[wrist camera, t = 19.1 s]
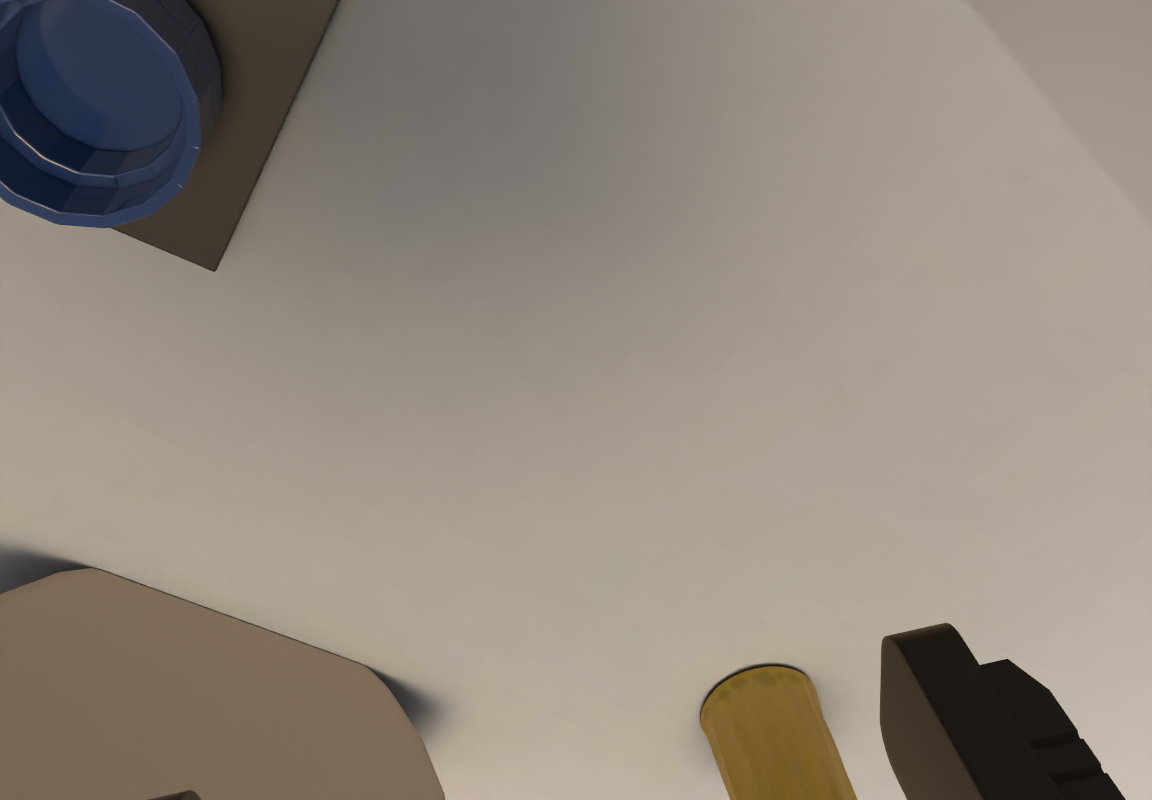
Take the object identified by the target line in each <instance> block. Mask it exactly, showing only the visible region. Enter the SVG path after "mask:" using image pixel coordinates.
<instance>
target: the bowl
mask: <svg viewBox="0 0 1152 800" xmlns="http://www.w3.org/2000/svg"><path fill="white" fill-rule="evenodd" d="M221 103H222V100H221V65H220V63H219V58H218V56H217V53H216V51H215V49H214V47H213V44H212V42H211V40H210V37H209V35H208V33H207V31H206V28H205V26H204V24H203V21H202V20H200V17H199V16H198V15H197V14H196V13H195V11H194V10H193V9H192V8H191V7H190V6H189V5H188V4H187V3H186V2H185V1H184V0H0V197H1V198H2V199H3V200H4V201H5V202H6V203H9V204H10V205H12V206H14V207H17V208H19V209H22V210H24V211H26V212H29V213H31V214H34V215H36V216H38V217H41V218H43V219H46V220H48V221H50V222H53V223H55V224H59V225H71V226H84V227H97V228H110V227H113V226H117V225H120V224H124V223H127V222H131V221H134V220H137V219H141V218H144V217H148V216H150V215H152V214H154V213H155V212H156V211H157V210H158V209H160V208H161V207H162V206H163V205H164V204H165V203H167V202H168V201H169V200H170V199H171V198H173V197H174V196H175V195H176V194H177V193H178V192H180V191H181V190H182V189H183V187H184V186H185V185H186V183H187V180H188V178H189V176H190V174H191V172H192V170H193V168H194V166H195V164H196V162H197V159H198V157H199V155H200V153H201V151H202V149H203V147H204V145H205V143H206V141H207V138H208V136H209V134H210V131H211V129H212V127H213V124H214V122H215V120H216V117H217V115H218V113H219V110H220V108H221Z"/></svg>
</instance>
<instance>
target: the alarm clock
mask: <svg viewBox="0 0 1152 800" xmlns="http://www.w3.org/2000/svg"><path fill="white" fill-rule="evenodd" d="M188 790H192V791H194V792H196V793H197V794H198V795H199V797H200V798H201V800H445V794H444V792H443V789H442V787H441V784H440V782H439V779H438V777H437V774H436V772H435V770H434V767H433V765H432V762H431V760H430V757H429V755H428V752H427V750H426V747H425V745H424V743H423V740H422V738H421V737H420V735H419V734H418V732H417V730H416V729H415V727H414V726H413V724H412V723H411V721H410V720H409V718H408V717H407V715H406V714H405V712H404V711H403V709H402V708H401V706H400V705H399V703H398V702H397V700H396V699H395V697H394V696H393V694H392V693H391V691H390V690H389V689H388V687H387V686H386V685H385V684H384V683H383V682H382V681H381V680H380V679H379V678H378V677H377V676H376V675H375V674H374V673H373V672H372V671H371V670H370V669H369V668H368V667H366V666H364V665H361V664H359V663H356V662H353V661H350V660H348V659H345V658H342V657H339V656H337V655H334V654H331V653H328V652H326V651H323V650H320V649H317V648H314V647H312V646H309V645H306V644H303V643H301V642H298V641H295V640H292V639H290V638H287V637H284V636H281V635H279V634H276V633H273V632H270V631H267V630H265V629H262V628H259V627H256V626H254V625H251V624H248V623H245V622H243V621H240V620H237V619H234V618H232V617H229V616H226V615H223V614H220V613H218V612H215V611H212V610H209V609H207V608H204V607H201V606H198V605H196V604H193V603H190V602H187V601H185V600H182V599H179V598H176V597H174V596H171V595H168V594H165V593H162V592H160V591H157V590H154V589H151V588H149V587H146V586H143V585H140V584H138V583H135V582H132V581H129V580H127V579H124V578H121V577H118V576H115V575H113V574H110V573H107V572H104V571H102V570H99V569H94V568H87V569H79V570H72V571H64V572H58V573H55V574H53V575H50V576H47V577H45V578H42V579H40V580H37V581H34V582H32V583H29V584H26V585H24V586H21V587H18V588H16V589H13V590H11V591H8V592H5V593H3V594H0V800H148V799H152V798H157V797H161V796H166V795H170V794H174V793H179V792H183V791H188Z"/></svg>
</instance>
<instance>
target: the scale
mask: <svg viewBox="0 0 1152 800" xmlns="http://www.w3.org/2000/svg"><path fill="white" fill-rule="evenodd" d="M184 1H185V2H186V3H187V4H188V5H189V6H190V7H191V8H192V9H193V10H194V11H195V13H196V14H197V15H198V16H199V17H200V20H202V21H203V24H204V26H205V28H206V31H207V33H208V35H209V37H210V40H211V42H212V44H213V47H214V49H215V51H216V53H217V56H218V58H219V63H220V65H221V100H222V103H221V108H220V110H219V113H218V115H217V117H216V120H215V122H214V124H213V127H212V129H211V131H210V134H209V136H208V138H207V141H206V143H205V145H204V147H203V149H202V151H201V153H200V155H199V157H198V159H197V162H196V164H195V166H194V168H193V170H192V172H191V174H190V176H189V178H188V180H187V183H186V185H185V186H184V187H183V189H182V190H181V191H180V192H178V193H177V194H176V195H175V196H174V197H173V198H171V199H170V200H169V201H168V202H167V203H165V204H164V205H163V206H162V207H161V208H160V209H158V210H157V211H156V212H155V213H154V214H152V215H150V216H148V217H144V218H141V219H137V220H134V221H131V222H127V223H124V224H120V225H117V226H113V227H110V228H112V229H114V230H117V231H119V232H121V233H124V234H126V235H128V236H131V237H133V238H135V239H138V240H140V241H143V242H145V243H147V244H150V245H152V246H154V247H157V248H159V249H161V250H164V251H166V252H169V253H171V254H173V255H176V256H178V257H180V258H183V259H185V260H187V261H190V262H192V263H195V264H197V265H199V266H202V267H204V268H206V269H209V270H211V271H214V272H215V271H216V270H217V268H218V266H219V263H220V261H221V259H222V257H223V255H224V252H225V250H226V248H227V246H228V244H229V242H230V239H231V237H232V235H233V233H234V231H235V228H236V226H237V224H238V222H239V220H240V217H241V215H242V213H243V211H244V209H245V207H246V204H247V202H248V200H249V198H250V196H251V193H252V191H253V189H254V187H255V185H256V183H257V180H258V178H259V176H260V174H261V172H262V169H263V167H264V165H265V163H266V161H267V158H268V156H269V154H270V152H271V150H272V148H273V145H274V143H275V141H276V139H277V137H278V134H279V132H280V130H281V128H282V126H283V124H284V121H285V119H286V117H287V115H288V113H289V110H290V108H291V106H292V104H293V102H294V100H295V97H296V95H297V93H298V91H299V89H300V86H301V84H302V82H303V80H304V78H305V75H306V73H307V71H308V69H309V67H310V65H311V62H312V60H313V58H314V56H315V54H316V51H317V49H318V47H319V45H320V43H321V41H322V38H323V36H324V34H325V32H326V30H327V27H328V25H329V23H330V21H331V19H332V16H333V14H334V12H335V10H336V8H337V6H338V3H339V1H340V0H184Z"/></svg>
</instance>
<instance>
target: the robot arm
mask: <svg viewBox="0 0 1152 800" xmlns="http://www.w3.org/2000/svg"><path fill="white" fill-rule="evenodd" d="M880 725H881V732H882V737H883V741H884V745H885V749H886V752H887V755H888V758H889V761H890V764H891V766H892V769H893V771H894V773H895V775H896V778H897V780H898V782H899V784H900V786H901V788H902V790H903V792H904V794H905V796H906V798H907V800H1125V798H1124V797H1123V795H1122V794H1121V792H1120V791H1119V790H1118V788H1117V787H1116V785H1115V784H1114V782H1113V781H1112V779H1111V778H1110V777H1109V775H1108V774H1107V773H1104V772H1103V770H1102V768H1101V764H1100V762H1099V761H1098V759H1097V758H1096V756H1095V755H1094V754H1093V752H1092V751H1091V749H1090V748H1089V746H1088V745H1087V743H1086V742H1085V741H1084V739H1080V737H1079V735H1078V730H1077V729H1076V728H1075V726H1074V725H1073V723H1072V722H1071V720H1070V719H1069V718H1068V716H1067V715H1066V713H1065V712H1064V710H1063V709H1062V707H1061V706H1060V705H1059V703H1058V702H1057V700H1056V699H1055V697H1054V696H1053V694H1052V693H1051V692H1050V690H1049V689H1047V688H1046V687H1045V686H1043V685H1042V684H1041V683H1039V682H1038V681H1037V680H1035V679H1034V678H1033V677H1031V676H1030V675H1028V674H1027V673H1026V672H1024V671H1023V670H1022V669H1020V668H1019V667H1018V666H1016V665H1015V664H1014V663H1012V662H1011V661H1010V660H1008V659H1005V660H1000V661H996V662H992V663H987V664H983V665H979V664H978V662H977V660H976V659H975V657H974V656H973V654H972V653H971V651H970V649H969V648H968V646H967V645H966V643H965V642H964V640H963V639H962V637H961V636H960V634H959V633H958V631H957V630H956V629H955V628H954V627H953V626H952V625H950V624H948V623H943V624H938V625H934V626H929V627H925V628H920V629H916V630H911V631H907V632H903V633H898V634H894V635H889V636H886V637H884V639H883V641H882V648H881V690H880ZM148 800H201V798H200V797H199V795H198V794H197V793H196V792H194V791H192V790H188V791H183V792H179V793H174V794H170V795H166V796H161V797H157V798H152V799H148Z"/></svg>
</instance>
